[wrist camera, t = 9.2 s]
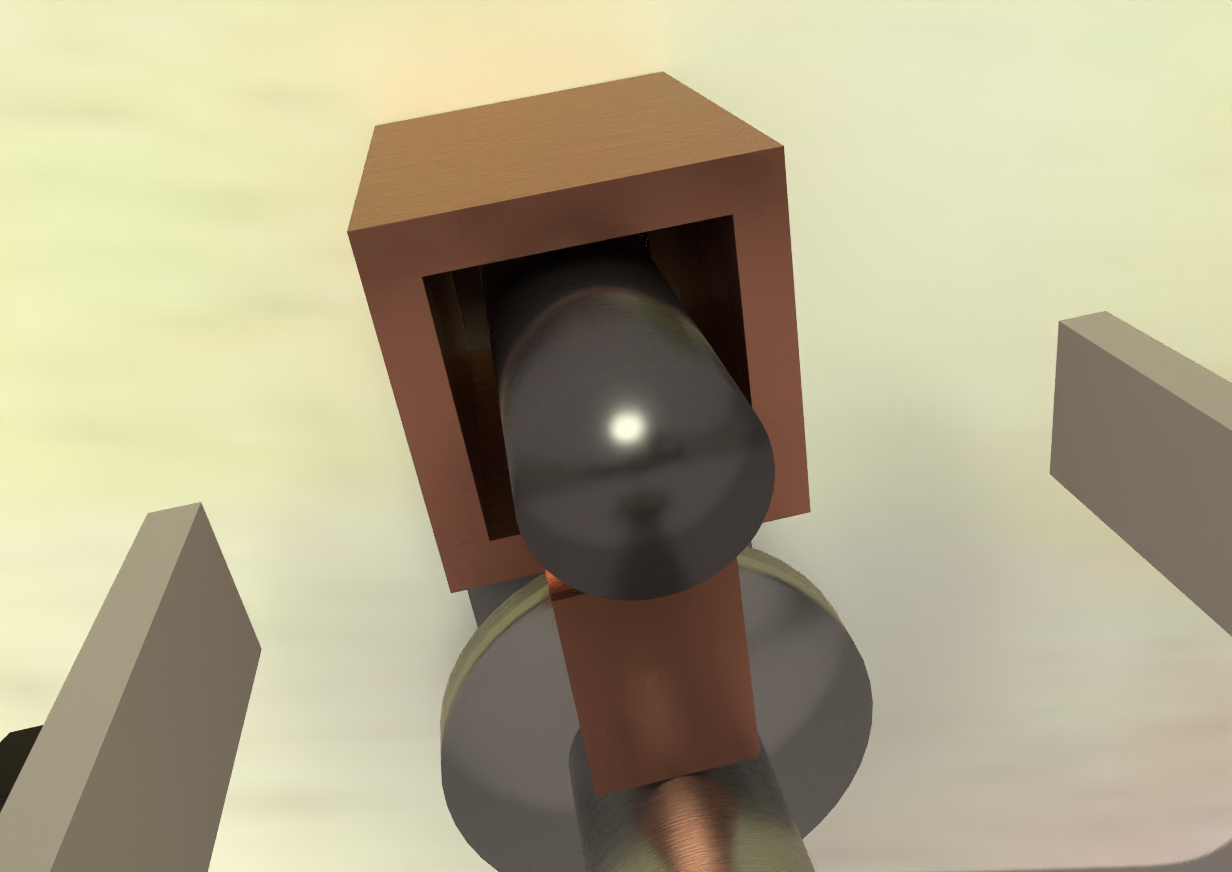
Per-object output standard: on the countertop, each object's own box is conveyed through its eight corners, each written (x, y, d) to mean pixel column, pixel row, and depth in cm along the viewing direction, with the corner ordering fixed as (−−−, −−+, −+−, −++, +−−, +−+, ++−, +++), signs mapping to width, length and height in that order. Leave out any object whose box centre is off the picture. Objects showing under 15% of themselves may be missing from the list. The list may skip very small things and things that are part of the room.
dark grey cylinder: (609, 150, 27) (763, 342, 14) (630, 291, 29) (784, 569, 16) (460, 179, 26) (487, 400, 14) (492, 320, 28) (541, 624, 16)
